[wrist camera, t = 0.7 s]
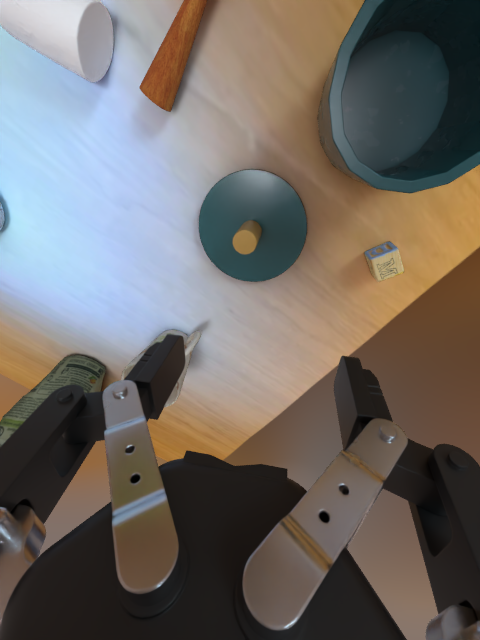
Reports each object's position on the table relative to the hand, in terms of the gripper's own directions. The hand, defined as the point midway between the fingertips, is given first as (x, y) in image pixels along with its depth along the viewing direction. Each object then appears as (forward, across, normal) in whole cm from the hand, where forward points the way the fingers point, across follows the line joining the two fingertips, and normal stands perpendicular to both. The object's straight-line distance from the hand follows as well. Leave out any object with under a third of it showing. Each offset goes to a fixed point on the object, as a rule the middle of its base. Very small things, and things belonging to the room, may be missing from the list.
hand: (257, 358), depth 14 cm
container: (+24, -8, -13) cm, 29 cm away
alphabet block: (+24, -12, +1) cm, 27 cm away
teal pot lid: (+23, +4, -1) cm, 24 cm away
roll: (+24, +24, -20) cm, 39 cm away
